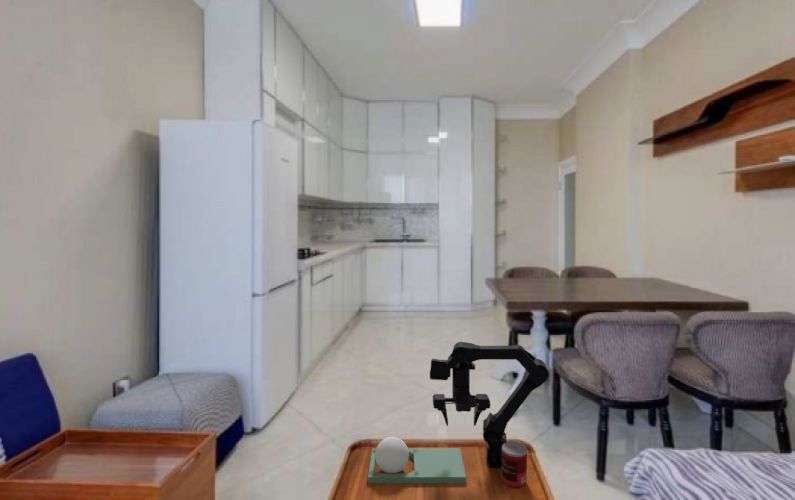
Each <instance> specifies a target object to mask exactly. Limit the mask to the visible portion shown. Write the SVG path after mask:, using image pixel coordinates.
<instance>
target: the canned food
mask: <svg viewBox="0 0 795 500" xmlns="http://www.w3.org/2000/svg"><path fill="white" fill-rule="evenodd" d="M500 468H501V474H500V475H501V481H502V484H504V485H505V486H507V487H508V488H511V489H522V488H523V487H525V486H526V484H527V479H528V477H527V476H528V475H527V474H528V473H527V471H528V448H527V447H526V445H524V444H523V443H521V442H517V441H507V442H506V443H504V444H503V445H502V467H500Z"/></svg>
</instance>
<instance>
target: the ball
mask: <svg viewBox="0 0 795 500" xmlns="http://www.w3.org/2000/svg"><path fill="white" fill-rule="evenodd" d="M408 448H409V447H408V446H407V444H406V443H405V442H404V441H403V440H402V439H400V438H398V437H396V436H389V437H385V438H384V439H382V440H381V441H380V442H379V443H378V444H377V447H376V452H375V459H376V462H375V464H376V465H377V467H378V468H379V469H380V470H381V471H382V472H384V473H400V472H402V471H403V470H404V469H405V468H406V466H407V465H408V463H409V459H410V457H409V451H408Z"/></svg>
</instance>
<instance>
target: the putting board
mask: <svg viewBox="0 0 795 500" xmlns="http://www.w3.org/2000/svg"><path fill="white" fill-rule="evenodd" d="M376 448H377V447H376ZM376 448H371V451H370V461H369V467H368V468H369V469H368V473H367V483H368V484H467V475H466V470H465V466H464V461H463V457H462V456H463V455H462V453H461V448H460V447H459V448H458V447H439V448H438V447H436V448H435V447H431V448H428V447H424V448H423V447H420V448H419V447H413V448H412V447H411V448H410V447H407V448H408V451H409V459H412V460H413V468H414V469H413V470H412V471H410V472H409V473H407V472H405V473H404V472H403V473H400V472H398V473H385V472H384V473H383V472H382V473H379V472H377V471H376V469H375V468H376V459H375V452H376Z"/></svg>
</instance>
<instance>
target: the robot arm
mask: <svg viewBox="0 0 795 500" xmlns="http://www.w3.org/2000/svg"><path fill="white" fill-rule="evenodd" d="M480 360H506V361H507V360H512V361H513V360H514V361H515V360H516V361H517V362H518V363H519V364H520V365H521V366H522V367H523V368H524V369H525V371H524V373H523V376H522V379H521V381H520V382H519V384H518V385H517V386H516V387H515V389H514V390H513V391H512V393H511V394H510V395H509V396H508V398H507V399H506V400H505V402H504V404H502V406H501V408H499V410H498V411H497V412H496V413H494V414H493V413H491V412H489V413H488V415H487V417H486V418H484V419H483V420H482V421H483V424H482V438H483V440H484V442H486V443H487V446H486V447H485V460H486V463H487V464H488V467H489V468H501V467H502V445H503V444H504V443H506V442H508V439H507V433H506V432H505V430H506V428H507V425H508V423H509V422H510V420H511V419H512V418H513V416H514V415H515V414H516V412H518V410H519V409H520V408H521V406H522V405H523V404H524V403H525V401H526V400H527V398H528V396H530V394H531V392H533V391H534V390H536V389H538V388H539V387H541V386H542V385H543V384H544V383H545V382H546V381H548V379H549V377H550V374H549V370H548V367H547V364H546V363H545V362H544V361H543V360H542V359H539V358H537V357H535V356H534V355H533V354H531V352H529V351H527V350H526V349H525V347H523V345H520V344H514V345H479V344H474V343H471V342H465V341H458V342H456V343H455V344H454V345H453V347H452V352H451V353H450V354H449V356H448V357H447V359H437V358H432V359H431V360H430V369H429V379H430V380H433V381H448V380H449V378H451V375H452V379H451V381H452V388H451V389H452V390H451V391H452V397H445V394H444V393H434V394H433V395H432V405H433V406H432V407H433V408H434V409H435V410H436V409H437V411H440V412H441V413H442V416H443V418H444V422H445V425H446V427H448V425H449V420H448V413H447V412H448V411H447V406H446V405H453V404H454V405H455V406H454V407H455V410H456V412H458V413H461V412H467V413H468V412H471V410H472V408H474V410H473V411H474V412H473V426H474V427H476V425H477V422H478V419H479V417H480V415H481V413H482V412H484V411H486V410H487V409H490V408H491V400H490V398H489V395H488V394H487V393H476V394H474V395H473V394H472V393H471V392H470V391H471V390H470V389H471V388H470V384H471V383H470V382H471V380H470V379H471V376H470V375H471V374H470V373H471V372H470V371H475V370H476V363H474V362H475V361H480ZM451 370H452V372H451Z"/></svg>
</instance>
